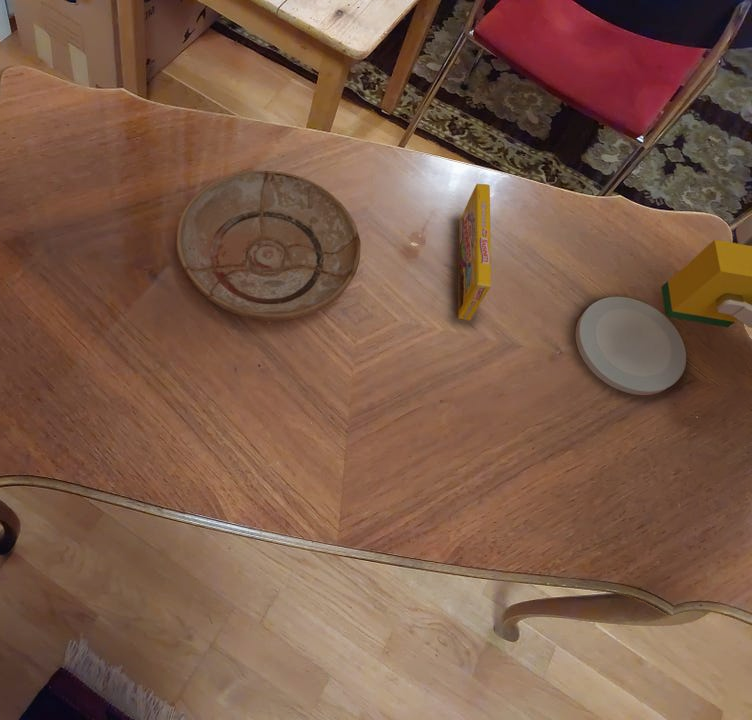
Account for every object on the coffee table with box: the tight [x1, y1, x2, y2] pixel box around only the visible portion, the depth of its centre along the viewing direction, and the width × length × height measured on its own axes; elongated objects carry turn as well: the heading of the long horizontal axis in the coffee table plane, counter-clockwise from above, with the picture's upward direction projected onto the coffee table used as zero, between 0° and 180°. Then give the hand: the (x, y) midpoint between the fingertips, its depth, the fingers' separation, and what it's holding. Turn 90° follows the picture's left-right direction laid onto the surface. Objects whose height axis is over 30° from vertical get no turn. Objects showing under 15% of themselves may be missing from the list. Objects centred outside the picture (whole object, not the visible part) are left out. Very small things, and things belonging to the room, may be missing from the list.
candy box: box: [457, 183, 492, 321], centre depth 86 cm, size 16×2×8 cm, turn 172°
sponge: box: [661, 239, 752, 328], centre depth 70 cm, size 4×7×9 cm, turn 81°
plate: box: [574, 296, 687, 396], centre depth 85 cm, size 14×14×1 cm
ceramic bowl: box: [176, 170, 362, 322], centre depth 85 cm, size 23×24×5 cm
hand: (716, 281), depth 70 cm, fingers closed on sponge, 4 cm apart
